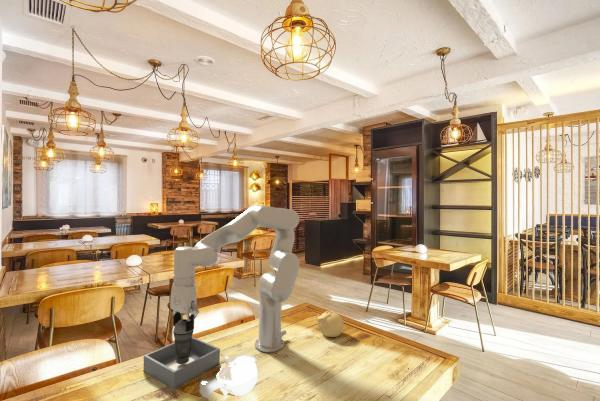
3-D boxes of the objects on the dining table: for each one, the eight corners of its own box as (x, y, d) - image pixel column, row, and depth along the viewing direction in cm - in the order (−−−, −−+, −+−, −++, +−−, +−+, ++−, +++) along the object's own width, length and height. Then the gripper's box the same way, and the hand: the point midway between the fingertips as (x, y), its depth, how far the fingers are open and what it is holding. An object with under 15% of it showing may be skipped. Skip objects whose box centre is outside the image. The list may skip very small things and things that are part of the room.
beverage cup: (186, 367, 115) (187, 313, 114) (168, 364, 117) (169, 310, 116) (196, 357, 122) (198, 305, 122) (179, 354, 124) (180, 303, 123)
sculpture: (325, 326, 160) (326, 305, 159) (347, 333, 152) (348, 311, 152) (313, 334, 150) (313, 312, 150) (335, 342, 143) (336, 318, 143)
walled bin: (189, 349, 133) (190, 335, 133) (219, 363, 123) (219, 348, 123) (143, 371, 116) (143, 355, 116) (173, 390, 106) (174, 372, 106)
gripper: (161, 278, 120) (160, 325, 121) (190, 287, 111) (189, 338, 111) (178, 274, 126) (178, 318, 127) (208, 282, 117) (207, 330, 117)
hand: (183, 327), depth 119 cm, fingers closed on beverage cup, 6 cm apart
